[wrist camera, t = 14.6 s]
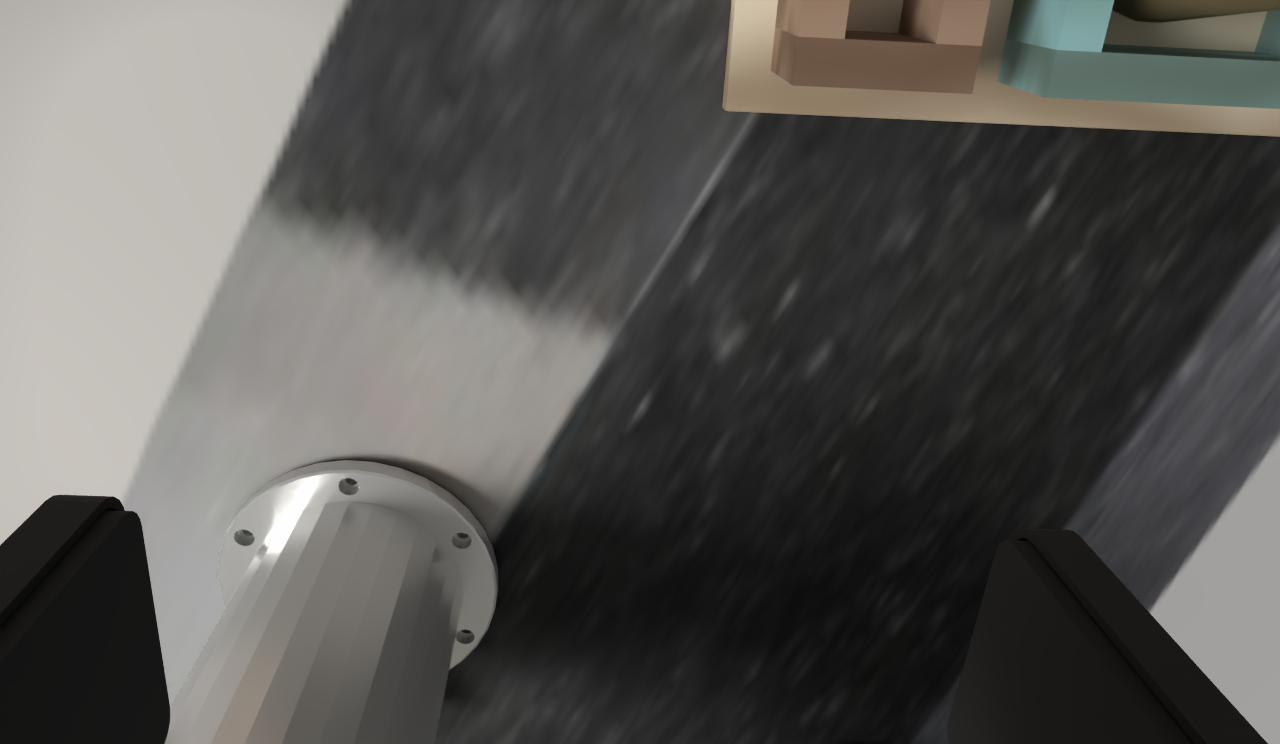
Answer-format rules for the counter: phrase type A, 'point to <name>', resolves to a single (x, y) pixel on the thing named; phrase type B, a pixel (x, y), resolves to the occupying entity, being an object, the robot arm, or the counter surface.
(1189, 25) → the socket board
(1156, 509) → the counter surface
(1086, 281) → the counter surface
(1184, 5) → the cork
